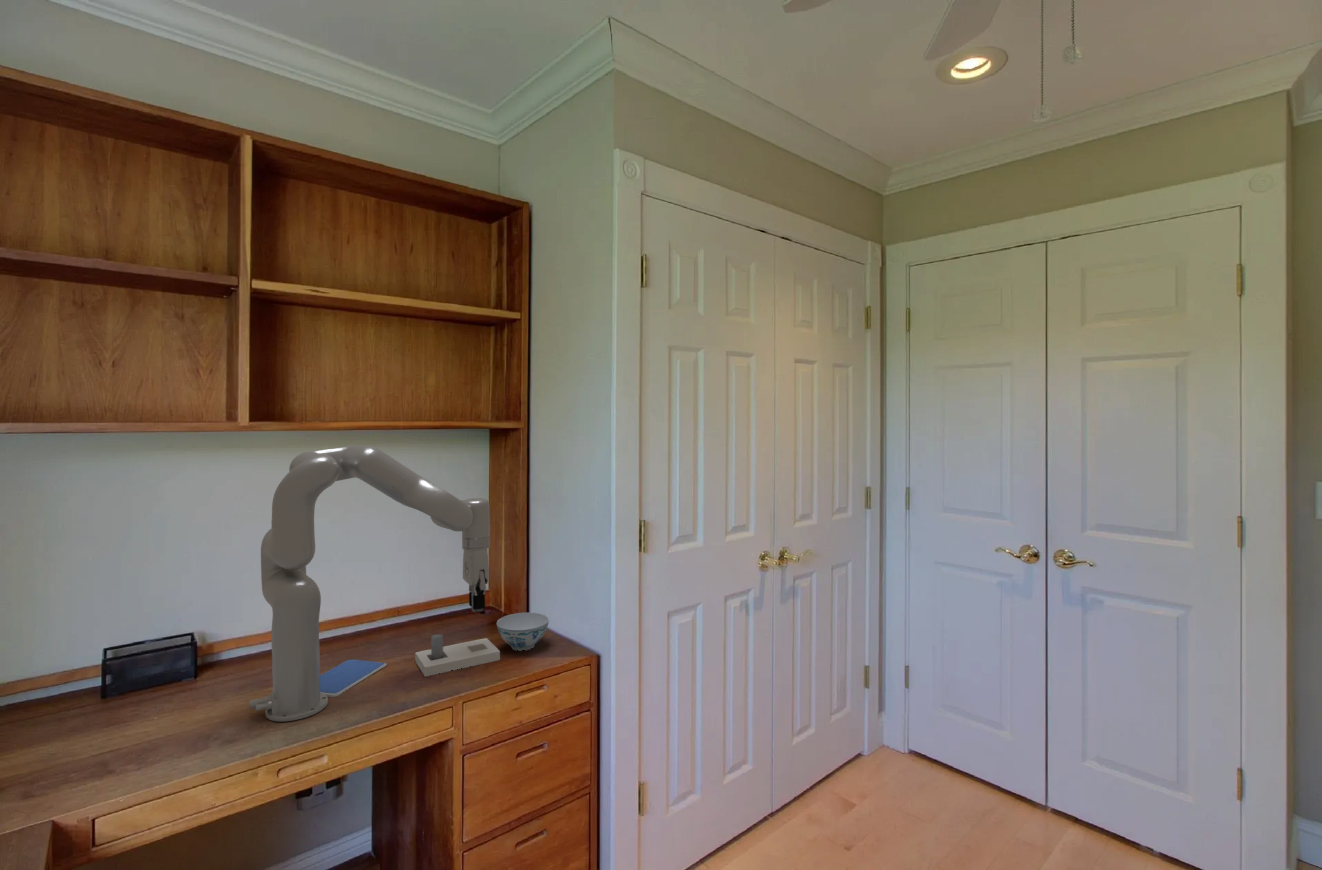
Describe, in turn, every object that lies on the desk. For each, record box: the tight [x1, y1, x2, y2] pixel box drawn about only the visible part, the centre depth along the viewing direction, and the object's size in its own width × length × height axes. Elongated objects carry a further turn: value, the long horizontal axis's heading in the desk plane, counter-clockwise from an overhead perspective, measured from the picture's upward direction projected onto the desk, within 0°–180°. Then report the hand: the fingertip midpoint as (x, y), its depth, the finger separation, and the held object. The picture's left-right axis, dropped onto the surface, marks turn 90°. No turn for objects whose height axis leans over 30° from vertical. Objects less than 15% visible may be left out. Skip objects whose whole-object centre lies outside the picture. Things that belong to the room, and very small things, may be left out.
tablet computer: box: [320, 659, 388, 698], centre depth 162 cm, size 19×13×1 cm, turn 166°
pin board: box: [414, 633, 501, 678], centre depth 173 cm, size 20×12×8 cm, turn 123°
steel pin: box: [471, 582, 484, 613], centre depth 175 cm, size 3×3×8 cm
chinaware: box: [496, 612, 550, 652], centre depth 183 cm, size 15×15×8 cm
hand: (477, 606), depth 175 cm, fingers closed on steel pin, 3 cm apart
